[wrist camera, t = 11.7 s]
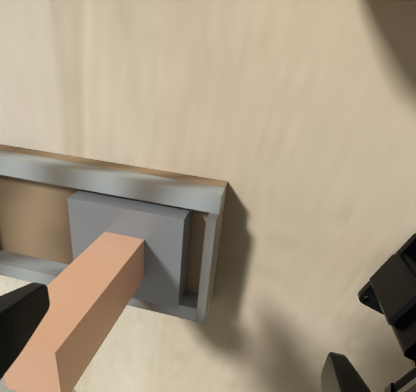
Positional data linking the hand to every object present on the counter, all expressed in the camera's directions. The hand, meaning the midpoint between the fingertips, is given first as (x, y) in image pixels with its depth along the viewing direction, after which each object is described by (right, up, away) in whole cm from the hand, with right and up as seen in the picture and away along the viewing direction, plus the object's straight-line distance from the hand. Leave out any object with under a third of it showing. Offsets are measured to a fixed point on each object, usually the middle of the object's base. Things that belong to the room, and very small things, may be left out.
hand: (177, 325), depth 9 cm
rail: (-8, +2, +15) cm, 18 cm away
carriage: (-4, +1, +13) cm, 14 cm away
